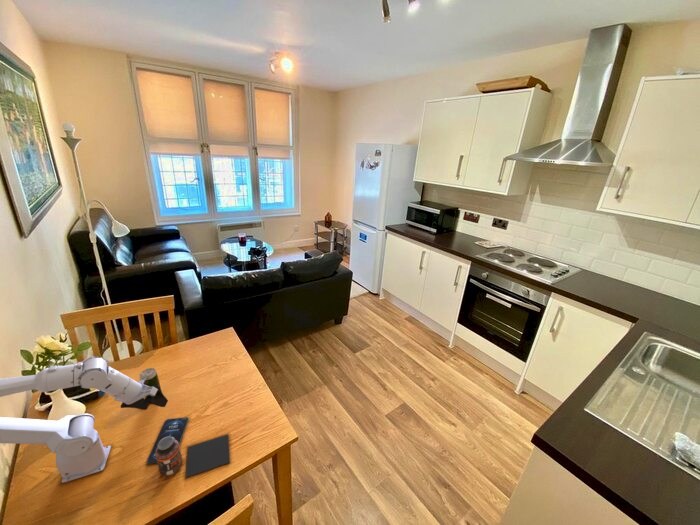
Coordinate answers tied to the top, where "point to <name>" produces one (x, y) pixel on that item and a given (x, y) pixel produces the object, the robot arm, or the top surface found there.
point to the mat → (207, 455)
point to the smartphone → (169, 434)
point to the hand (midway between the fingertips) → (156, 405)
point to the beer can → (149, 377)
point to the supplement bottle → (168, 456)
